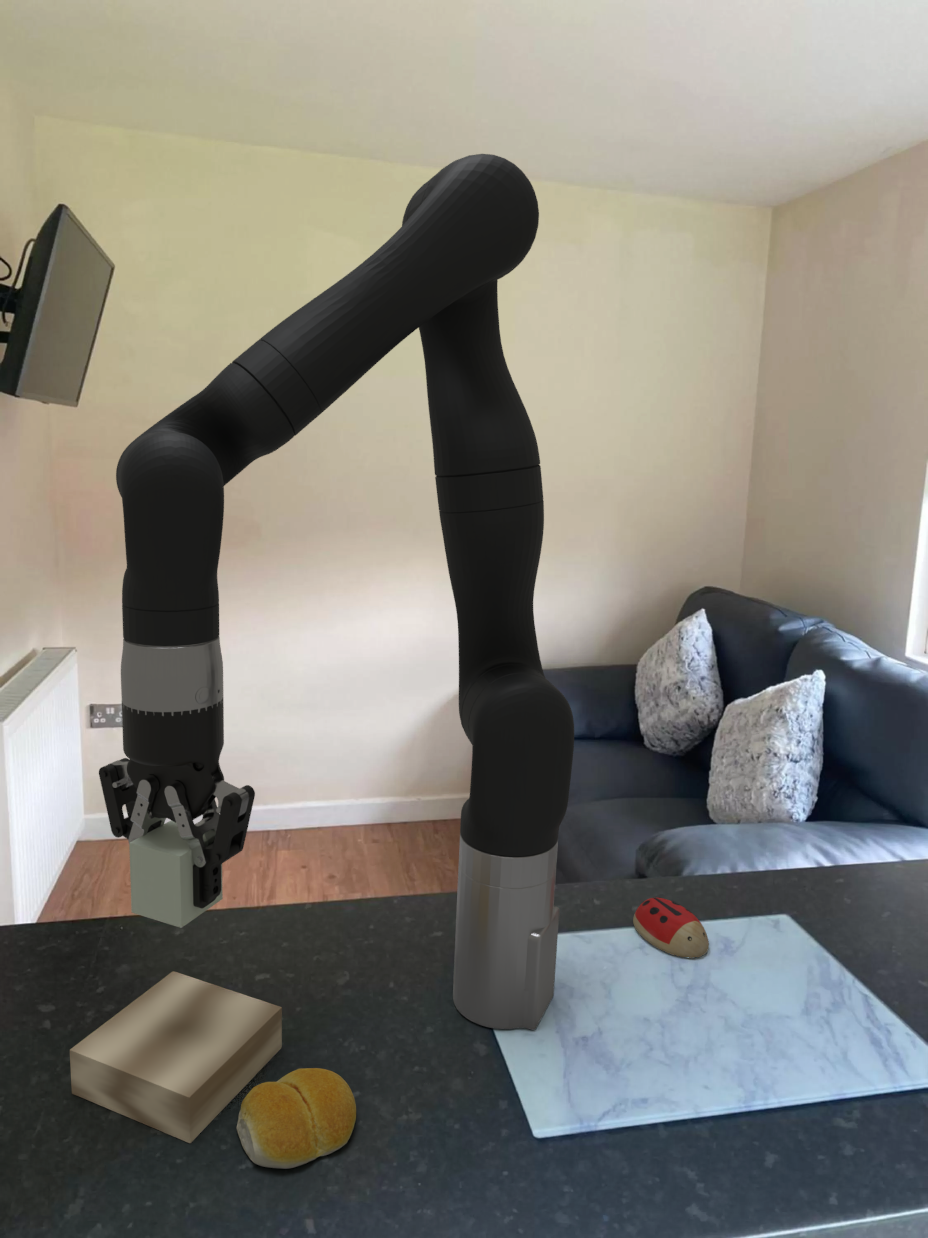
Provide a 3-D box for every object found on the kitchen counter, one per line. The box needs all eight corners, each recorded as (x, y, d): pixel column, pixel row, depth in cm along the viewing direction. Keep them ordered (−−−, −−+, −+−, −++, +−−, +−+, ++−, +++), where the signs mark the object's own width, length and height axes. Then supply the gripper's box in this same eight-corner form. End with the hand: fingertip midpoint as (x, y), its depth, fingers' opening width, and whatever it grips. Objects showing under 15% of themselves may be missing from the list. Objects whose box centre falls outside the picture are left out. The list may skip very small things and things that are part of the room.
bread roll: (373, 1141, 67) (374, 1096, 67) (262, 1191, 62) (261, 1143, 62) (328, 1076, 74) (328, 1034, 73) (224, 1116, 69) (224, 1072, 68)
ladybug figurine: (680, 969, 92) (683, 939, 91) (616, 925, 100) (618, 897, 99) (723, 952, 96) (726, 922, 95) (657, 910, 104) (660, 883, 103)
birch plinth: (281, 1047, 77) (281, 1007, 76) (190, 1143, 66) (189, 1097, 65) (174, 1009, 82) (173, 971, 81) (71, 1093, 71) (69, 1050, 70)
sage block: (222, 899, 72) (221, 831, 71) (181, 928, 68) (179, 856, 67) (174, 885, 74) (173, 819, 73) (131, 912, 70) (129, 842, 68)
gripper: (279, 696, 68) (278, 895, 71) (136, 671, 74) (142, 857, 77) (217, 721, 61) (219, 940, 65) (65, 691, 67) (74, 895, 70)
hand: (177, 894), depth 71 cm, fingers closed on sage block, 5 cm apart
